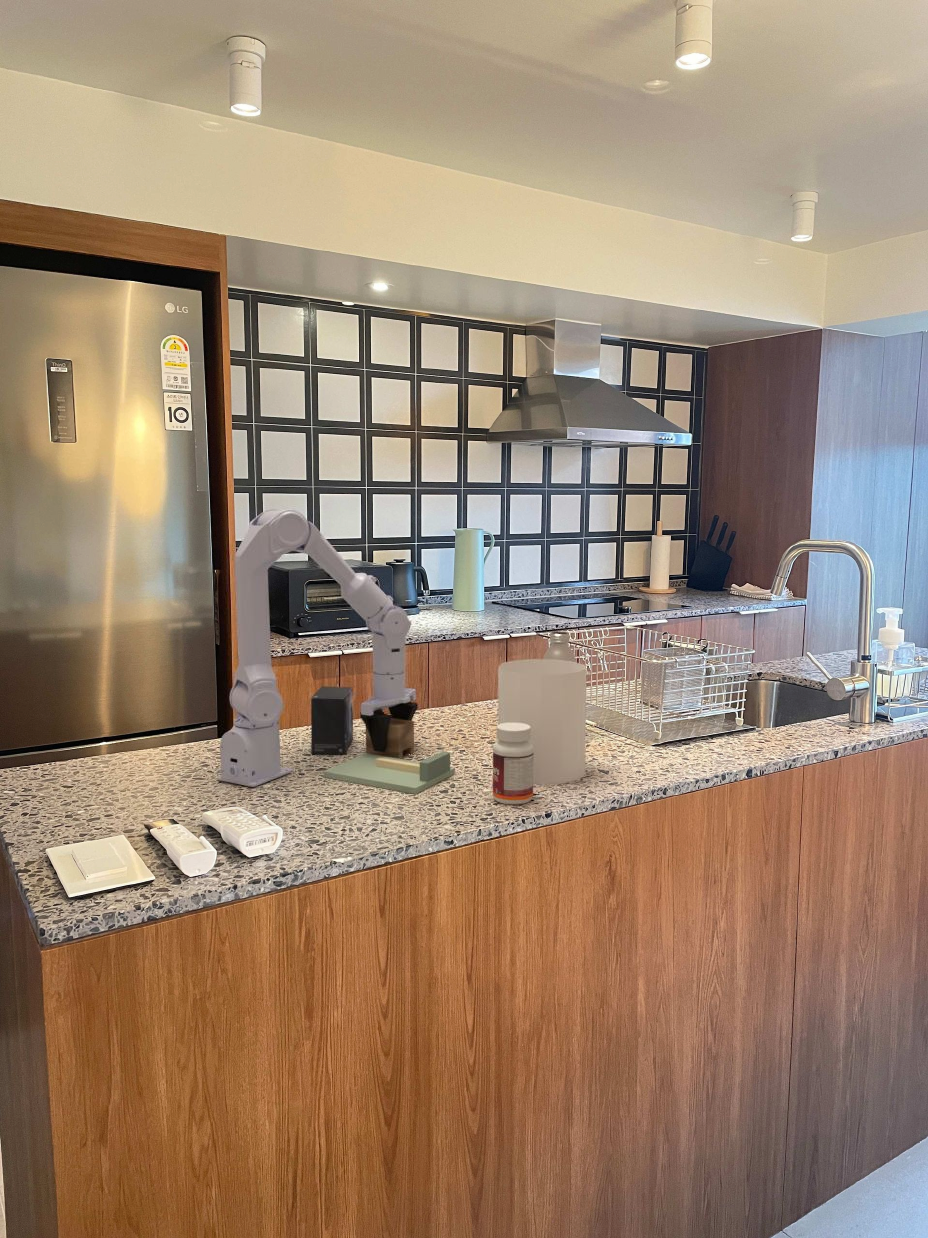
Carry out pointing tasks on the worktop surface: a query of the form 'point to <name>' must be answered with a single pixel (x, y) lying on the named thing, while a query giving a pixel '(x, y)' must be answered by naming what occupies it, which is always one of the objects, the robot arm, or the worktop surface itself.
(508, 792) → the pill bottle
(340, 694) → the small box
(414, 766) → the wall board
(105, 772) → the worktop surface
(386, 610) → the robot arm
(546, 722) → the container
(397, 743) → the brown block
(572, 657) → the plastic bottle
